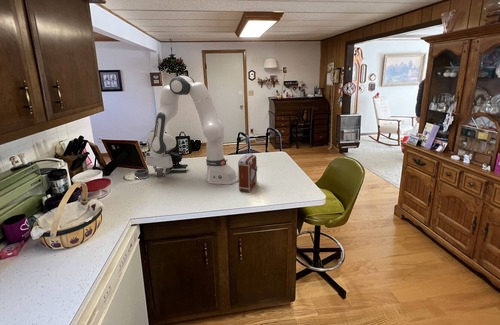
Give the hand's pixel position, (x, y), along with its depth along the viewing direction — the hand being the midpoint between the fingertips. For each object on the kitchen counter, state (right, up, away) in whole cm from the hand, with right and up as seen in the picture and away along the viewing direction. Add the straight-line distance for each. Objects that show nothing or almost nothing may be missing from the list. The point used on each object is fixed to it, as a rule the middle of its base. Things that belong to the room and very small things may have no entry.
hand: (160, 172), depth 199 cm
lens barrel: (-12, -3, -2) cm, 13 cm away
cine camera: (+62, -8, -22) cm, 66 cm away
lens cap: (0, -2, +1) cm, 2 cm away
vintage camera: (+9, 0, +9) cm, 13 cm away
